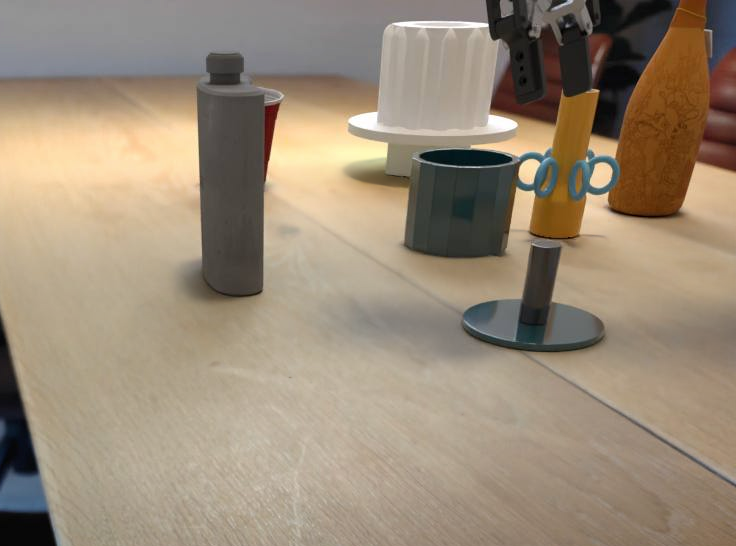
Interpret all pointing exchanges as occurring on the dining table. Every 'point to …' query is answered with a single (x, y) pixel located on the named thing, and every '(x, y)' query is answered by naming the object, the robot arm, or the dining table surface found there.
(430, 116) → the flanged gear
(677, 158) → the wine bottle
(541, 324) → the lid
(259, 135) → the flask
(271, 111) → the plastic cup
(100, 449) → the dining table surface
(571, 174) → the cylinder
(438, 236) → the pot
